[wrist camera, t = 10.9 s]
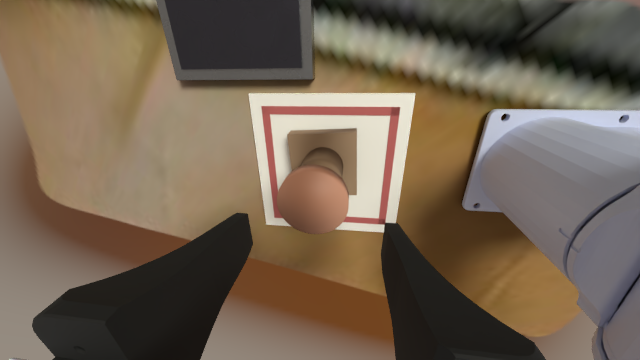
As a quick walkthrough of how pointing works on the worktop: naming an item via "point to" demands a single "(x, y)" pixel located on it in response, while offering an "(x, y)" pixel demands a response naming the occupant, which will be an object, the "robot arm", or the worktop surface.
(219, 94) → the worktop surface
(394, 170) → the marked sheet
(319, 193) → the stamp
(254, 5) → the ink pad
